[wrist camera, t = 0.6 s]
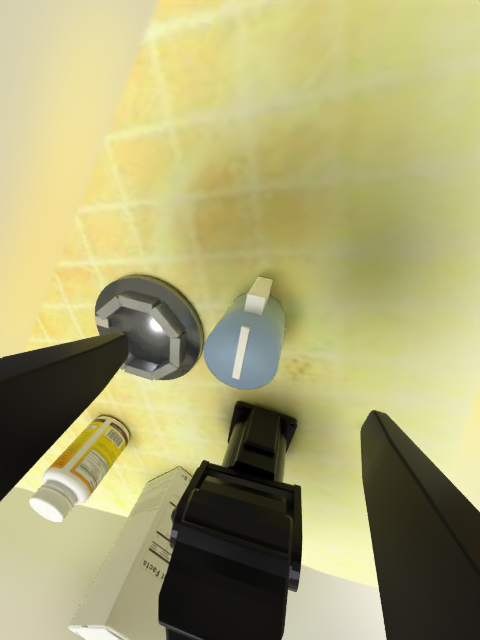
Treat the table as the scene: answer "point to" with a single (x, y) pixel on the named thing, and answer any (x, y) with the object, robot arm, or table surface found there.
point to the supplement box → (134, 569)
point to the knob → (248, 339)
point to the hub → (151, 326)
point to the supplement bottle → (80, 468)
